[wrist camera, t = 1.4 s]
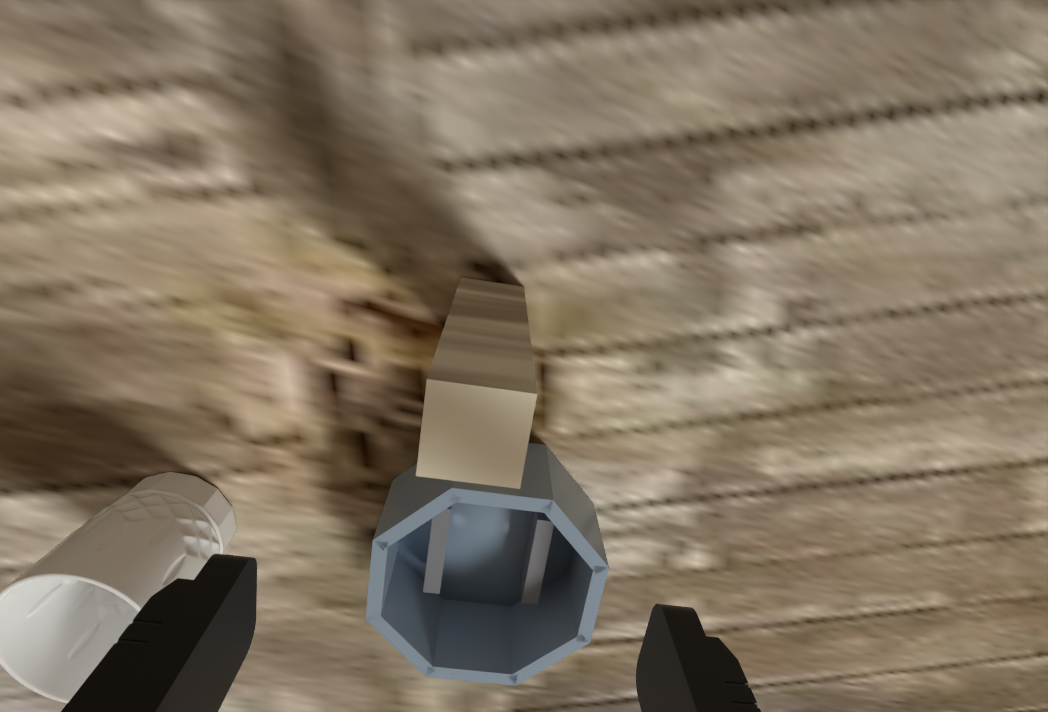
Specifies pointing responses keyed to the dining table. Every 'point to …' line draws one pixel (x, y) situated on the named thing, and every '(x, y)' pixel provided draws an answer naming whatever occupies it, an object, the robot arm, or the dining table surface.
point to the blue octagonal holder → (487, 572)
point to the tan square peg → (480, 389)
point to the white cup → (107, 579)
